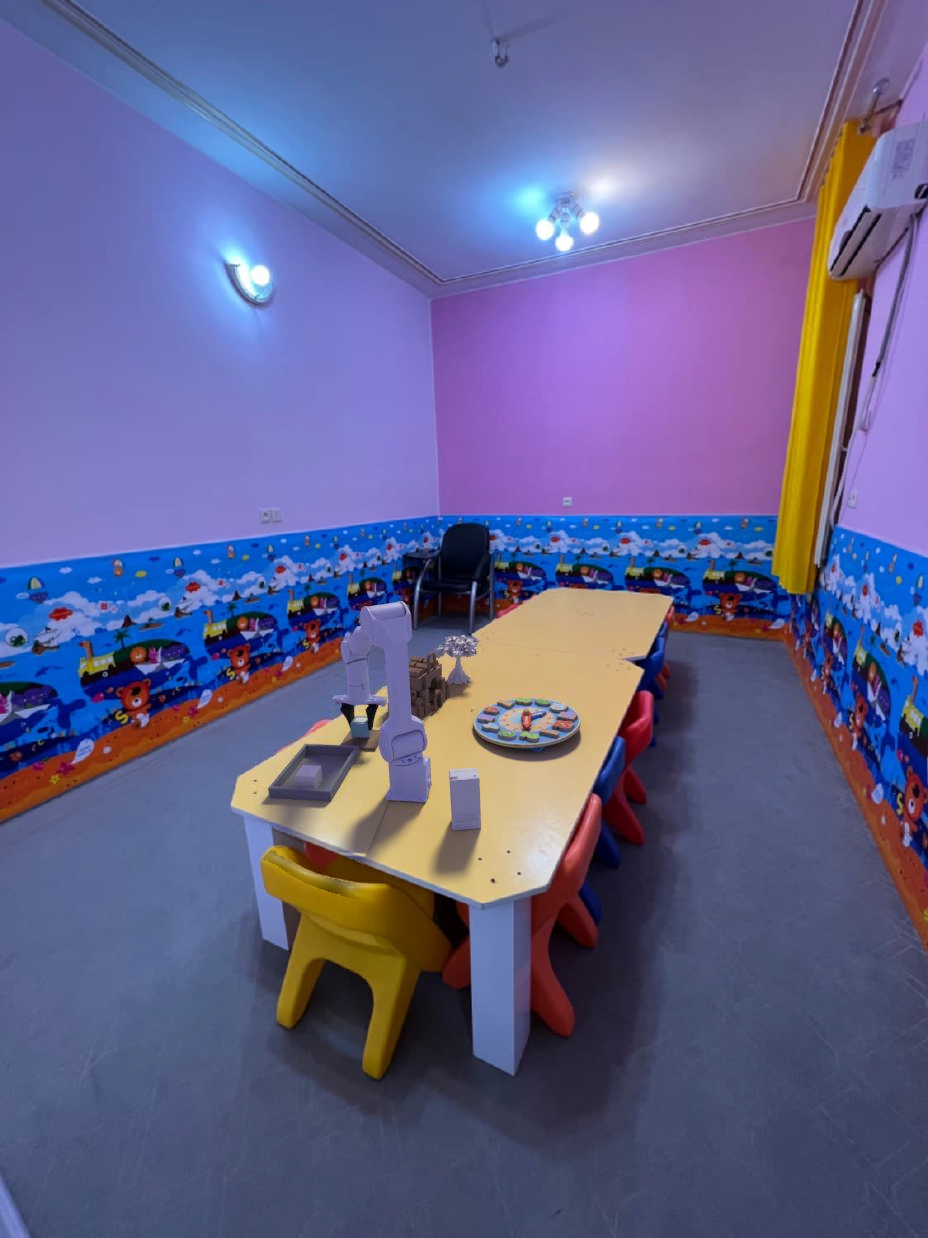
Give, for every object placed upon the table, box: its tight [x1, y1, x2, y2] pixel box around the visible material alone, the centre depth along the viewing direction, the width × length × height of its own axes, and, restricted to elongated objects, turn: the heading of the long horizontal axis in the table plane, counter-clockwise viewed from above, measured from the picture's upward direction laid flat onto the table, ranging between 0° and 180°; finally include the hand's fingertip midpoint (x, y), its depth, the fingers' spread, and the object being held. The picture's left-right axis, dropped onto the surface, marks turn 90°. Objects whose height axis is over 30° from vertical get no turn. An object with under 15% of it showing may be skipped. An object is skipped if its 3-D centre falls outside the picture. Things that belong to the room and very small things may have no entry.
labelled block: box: [350, 715, 374, 738], centre depth 133 cm, size 4×4×4 cm
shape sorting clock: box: [473, 697, 582, 753], centre depth 140 cm, size 31×30×6 cm
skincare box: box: [448, 767, 482, 831], centre depth 100 cm, size 6×4×12 cm
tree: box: [433, 635, 479, 685], centre depth 174 cm, size 18×16×17 cm
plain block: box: [295, 765, 323, 789], centre depth 114 cm, size 4×4×4 cm
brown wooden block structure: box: [387, 651, 451, 720], centre depth 155 cm, size 22×15×19 cm, turn 153°
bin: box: [267, 743, 360, 802], centre depth 119 cm, size 15×20×3 cm
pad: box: [339, 729, 380, 752], centre depth 135 cm, size 10×10×1 cm
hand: (361, 728), depth 134 cm, fingers closed on labelled block, 4 cm apart
